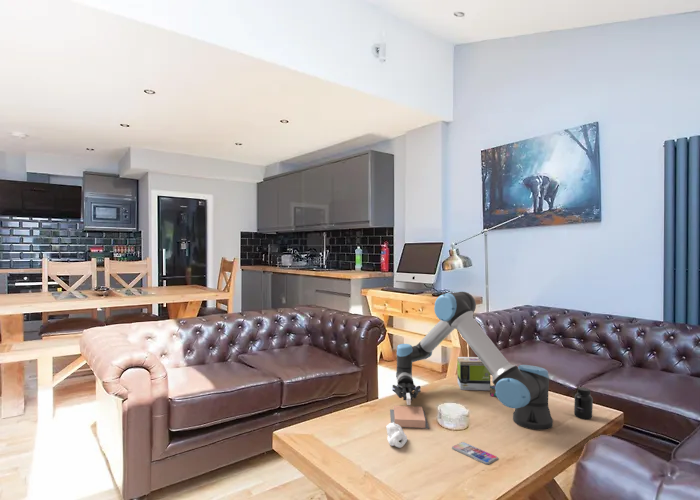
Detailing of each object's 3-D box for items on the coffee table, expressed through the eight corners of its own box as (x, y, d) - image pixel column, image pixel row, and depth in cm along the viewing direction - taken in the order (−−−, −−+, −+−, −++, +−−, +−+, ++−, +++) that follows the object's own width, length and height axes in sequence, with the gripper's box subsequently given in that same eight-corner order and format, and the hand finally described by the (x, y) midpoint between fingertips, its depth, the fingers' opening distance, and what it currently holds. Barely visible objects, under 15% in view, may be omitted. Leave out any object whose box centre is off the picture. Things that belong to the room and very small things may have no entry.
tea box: (486, 384, 222) (486, 356, 221) (490, 391, 212) (490, 362, 211) (456, 383, 223) (457, 355, 223) (460, 390, 213) (460, 361, 213)
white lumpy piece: (400, 453, 149) (386, 432, 150) (386, 451, 160) (373, 431, 161) (416, 437, 153) (403, 416, 154) (402, 436, 164) (389, 417, 165)
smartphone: (462, 441, 157) (499, 457, 145) (462, 443, 157) (499, 459, 145) (450, 446, 152) (487, 463, 140) (450, 449, 152) (487, 466, 140)
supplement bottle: (575, 418, 179) (575, 390, 179) (573, 412, 185) (573, 385, 185) (593, 421, 176) (594, 392, 176) (591, 414, 183) (591, 387, 183)
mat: (389, 410, 186) (389, 409, 186) (424, 411, 185) (424, 410, 185) (391, 428, 168) (391, 427, 168) (429, 430, 167) (429, 428, 167)
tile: (393, 405, 182) (394, 419, 168) (421, 406, 181) (425, 420, 167) (393, 413, 182) (394, 427, 168) (421, 414, 181) (425, 428, 167)
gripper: (419, 391, 199) (424, 411, 175) (391, 390, 200) (393, 410, 176) (419, 375, 198) (424, 393, 175) (391, 374, 199) (393, 392, 176)
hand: (408, 401), depth 175 cm, fingers closed
